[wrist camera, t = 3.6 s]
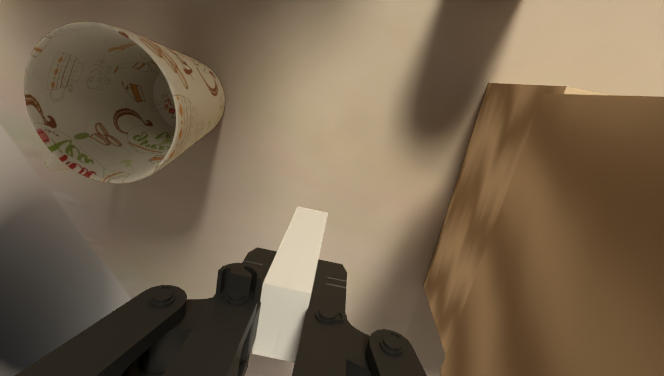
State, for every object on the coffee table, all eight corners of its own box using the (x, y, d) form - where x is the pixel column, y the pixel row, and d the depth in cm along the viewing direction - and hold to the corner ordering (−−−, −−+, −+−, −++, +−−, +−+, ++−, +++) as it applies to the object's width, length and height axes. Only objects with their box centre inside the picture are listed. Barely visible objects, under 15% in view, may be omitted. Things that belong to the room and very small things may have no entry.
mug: (261, 110, 27) (211, 128, 18) (151, 194, 30) (58, 247, 21) (191, 17, 26) (95, -19, 16) (82, 115, 29) (-55, 134, 19)
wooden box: (488, 83, 26) (566, 86, 16) (699, 125, 26) (902, 154, 16) (423, 286, 31) (452, 377, 22) (596, 321, 31) (701, 428, 22)
